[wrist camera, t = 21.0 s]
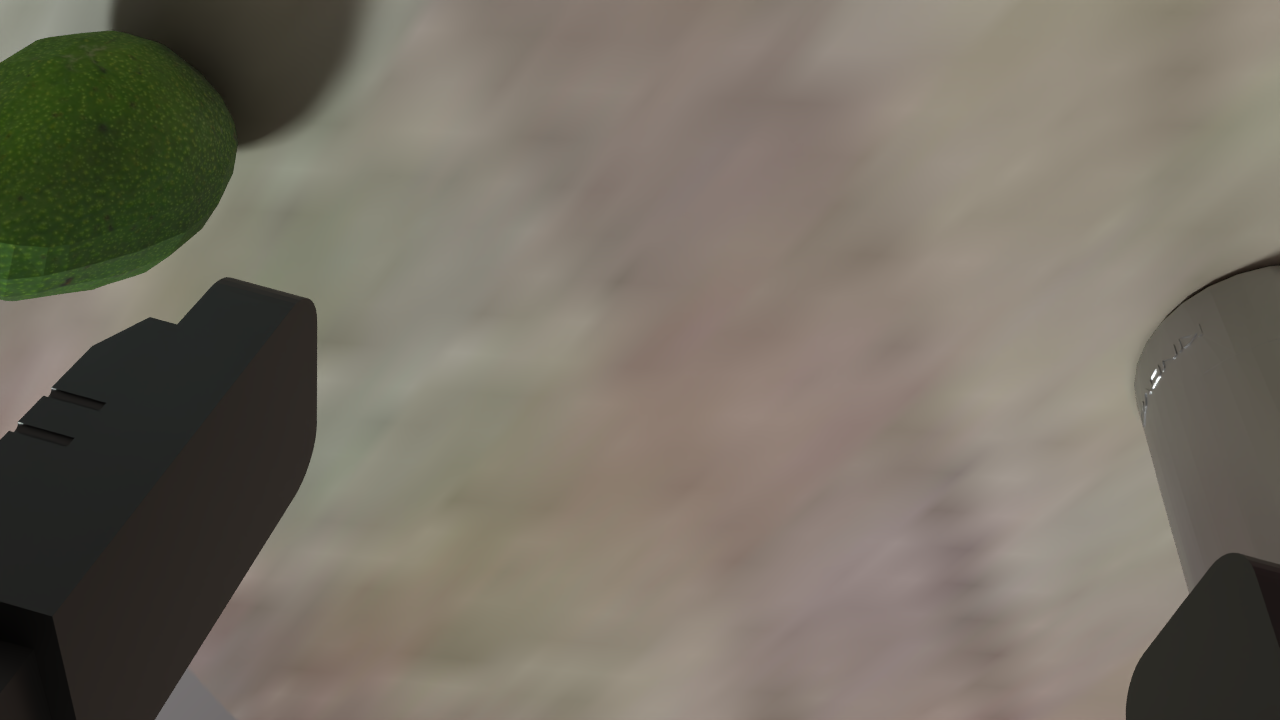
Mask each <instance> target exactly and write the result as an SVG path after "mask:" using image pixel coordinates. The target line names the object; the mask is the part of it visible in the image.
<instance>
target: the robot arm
mask: <svg viewBox="0 0 1280 720" xmlns="http://www.w3.org/2000/svg"><path fill="white" fill-rule="evenodd" d="M1134 387H1135V394H1136V401H1137V407H1138V410H1139V414H1140V418H1141V421H1142V425H1143V428H1144V432H1145V436H1146V439H1147V443H1148V446H1149V450H1150V454H1151V457H1152V461H1153V464H1154V468H1155V473H1156V477H1157V481H1158V484H1159V488H1160V491H1161V495H1162V498H1163V502H1164V505H1165V509H1166V513H1167V516H1168V520H1169V523H1170V527H1171V530H1172V534H1173V538H1174V541H1175V545H1176V548H1177V552H1178V555H1179V559H1180V563H1181V566H1182V570H1183V573H1184V577H1185V580H1186V584H1187V587H1188V591H1189V595H1188V597H1187V598H1186V599H1185V601H1184V602H1183V603H1182V604H1181V606H1180V607H1179V608H1178V610H1177V611H1176V612H1175V614H1174V615H1173V616H1172V617H1171V619H1170V620H1169V621H1168V623H1167V624H1166V625H1165V627H1164V628H1163V629H1162V630H1161V632H1160V633H1159V634H1158V636H1157V637H1156V638H1155V640H1154V641H1153V642H1152V644H1151V645H1150V646H1149V647H1148V649H1147V650H1146V651H1145V653H1144V654H1143V655H1142V657H1141V659H1140V660H1139V662H1138V664H1137V666H1136V668H1135V670H1134V673H1133V676H1132V679H1131V682H1130V686H1129V690H1128V695H1127V703H1126V720H1280V265H1277V266H1269V267H1265V268H1261V269H1257V270H1253V271H1249V272H1245V273H1241V274H1237V275H1235V276H1233V277H1230V278H1228V279H1226V280H1223V281H1221V282H1219V283H1216V284H1214V285H1212V286H1209V287H1207V288H1206V289H1204V290H1203V291H1201V292H1199V293H1198V294H1196V295H1195V296H1193V297H1191V298H1190V299H1188V300H1187V301H1185V302H1184V303H1182V304H1181V305H1180V306H1179V307H1178V308H1177V309H1176V310H1174V311H1173V312H1172V313H1171V314H1170V315H1169V316H1168V317H1167V318H1166V319H1164V320H1163V321H1162V322H1161V324H1160V325H1159V326H1158V328H1157V329H1156V330H1155V332H1154V333H1153V335H1152V336H1151V337H1150V339H1149V340H1148V341H1147V343H1146V345H1145V347H1144V350H1143V352H1142V354H1141V357H1140V359H1139V361H1138V363H1137V369H1136V376H1135V383H1134ZM316 427H317V314H316V308H315V306H314V303H313V302H312V301H311V300H310V299H308V298H304V297H300V296H297V295H293V294H289V293H286V292H282V291H278V290H274V289H271V288H267V287H263V286H260V285H256V284H252V283H249V282H245V281H241V280H237V279H234V278H228V277H226V278H223V279H220V280H219V281H217V282H216V283H215V284H214V285H213V286H212V287H211V288H210V289H209V290H208V291H207V292H206V293H205V294H204V295H203V297H202V298H201V299H200V300H199V301H198V302H197V303H196V304H195V305H194V307H193V308H192V309H191V310H190V311H189V312H188V313H187V314H186V315H185V316H184V318H183V319H182V320H181V321H180V322H179V323H178V324H173V323H169V322H166V321H162V320H158V319H155V318H151V317H149V318H147V319H145V320H143V321H141V322H139V323H137V324H135V325H133V326H131V327H129V328H127V329H125V330H124V331H122V332H120V333H118V334H116V335H114V336H112V337H110V338H108V339H106V340H104V341H102V342H100V343H98V344H96V345H94V346H92V347H91V348H90V349H89V350H88V351H87V352H86V353H85V354H84V355H83V356H82V357H81V358H80V359H79V360H78V361H77V362H76V363H75V364H74V365H73V366H72V367H71V368H70V369H69V370H68V371H67V372H66V373H65V374H64V375H63V376H62V377H61V378H60V379H59V381H58V382H57V383H56V384H55V385H54V386H53V387H52V390H51V394H50V395H49V397H46V396H43V397H42V398H41V399H40V400H39V401H38V402H37V403H36V404H35V405H34V406H33V407H32V408H31V409H30V410H29V411H28V412H27V413H26V414H25V415H24V416H23V417H22V418H21V419H20V420H19V421H18V426H17V429H16V430H15V432H11V431H8V432H7V433H6V435H5V436H4V437H3V438H2V439H1V440H0V720H155V718H156V717H157V715H158V713H159V712H160V710H161V709H162V707H163V705H164V704H165V702H166V701H167V699H168V698H169V696H170V694H171V693H172V691H173V690H174V688H175V686H176V685H177V683H178V681H179V680H180V678H181V677H182V675H183V674H184V672H185V671H186V669H187V667H188V666H189V664H190V663H191V661H192V659H193V658H194V656H195V655H196V653H197V651H198V650H199V648H200V647H201V645H202V643H203V642H204V640H205V639H206V637H207V635H208V634H209V632H210V631H211V629H212V627H213V626H214V624H215V623H216V621H217V619H218V618H219V616H220V615H221V613H222V611H223V610H224V608H225V607H226V605H227V603H228V602H229V600H230V599H231V597H232V595H233V594H234V592H235V591H236V589H237V587H238V586H239V584H240V583H241V581H242V580H243V578H244V576H245V575H246V573H247V572H248V570H249V568H250V567H251V565H252V564H253V562H254V560H255V559H256V557H257V556H258V554H259V552H260V551H261V549H262V548H263V546H264V544H265V543H266V541H267V540H268V538H269V536H270V535H271V533H272V532H273V530H274V528H275V527H276V525H277V524H278V522H279V520H280V519H281V517H282V516H283V514H284V512H285V511H286V509H287V508H288V506H289V504H290V503H291V501H292V500H293V498H294V496H295V495H296V493H297V491H298V489H299V487H300V485H301V483H302V481H303V479H304V476H305V474H306V471H307V468H308V466H309V462H310V459H311V456H312V452H313V448H314V443H315V437H316Z"/></svg>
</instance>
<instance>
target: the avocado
mask: <svg viewBox="0 0 1280 720" xmlns="http://www.w3.org/2000/svg"><path fill="white" fill-rule="evenodd" d="M237 146H238V139H237V134H236V129H235V124H234V121H233V119H232V117H231V115H230V113H229V111H228V109H227V107H226V105H225V103H224V101H223V99H222V98H221V96H220V95H219V94H218V93H217V91H216V90H215V89H214V88H213V87H212V86H211V84H210V83H209V82H208V81H207V80H206V79H205V78H204V76H203V75H202V74H201V73H200V72H199V71H197V70H196V69H195V68H193V67H192V66H191V65H190V64H188V63H187V62H186V61H184V60H183V59H182V58H180V57H179V56H178V55H177V54H175V53H174V52H173V51H171V50H170V49H169V48H167V47H166V46H165V45H163V44H160V43H157V42H155V41H151V40H147V39H144V38H141V37H138V36H134V35H131V34H128V33H124V32H118V31H101V32H90V33H79V34H71V35H64V36H56V37H48V38H44V39H40V40H37V41H35V42H33V43H32V44H30V45H28V46H27V47H25V48H24V49H22V50H20V51H19V52H17V53H15V54H14V55H12V56H11V57H9V58H7V59H6V60H4V61H2V62H1V63H0V299H1V300H5V301H18V300H25V299H32V298H38V297H44V296H51V295H57V294H64V293H71V292H79V291H86V290H93V289H95V288H98V287H101V286H104V285H107V284H110V283H113V282H117V281H120V280H123V279H126V278H129V277H133V276H136V275H139V274H142V273H144V272H146V271H148V270H149V269H151V268H152V267H154V266H155V265H157V264H158V263H160V262H161V261H163V260H164V259H166V258H167V257H168V256H170V255H171V254H172V253H174V252H175V251H176V250H177V249H178V248H179V247H181V246H182V245H183V244H184V243H185V242H187V241H188V240H189V239H190V238H191V237H193V236H194V235H195V234H196V233H197V232H198V231H200V230H201V229H202V228H203V226H204V225H205V223H206V222H207V220H208V219H209V217H210V216H211V214H212V213H213V211H214V210H215V208H216V207H217V205H218V203H219V201H220V199H221V197H222V195H223V193H224V191H225V189H226V187H227V184H228V182H229V180H230V178H231V176H232V174H233V170H234V164H235V158H236V152H237Z"/></svg>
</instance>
